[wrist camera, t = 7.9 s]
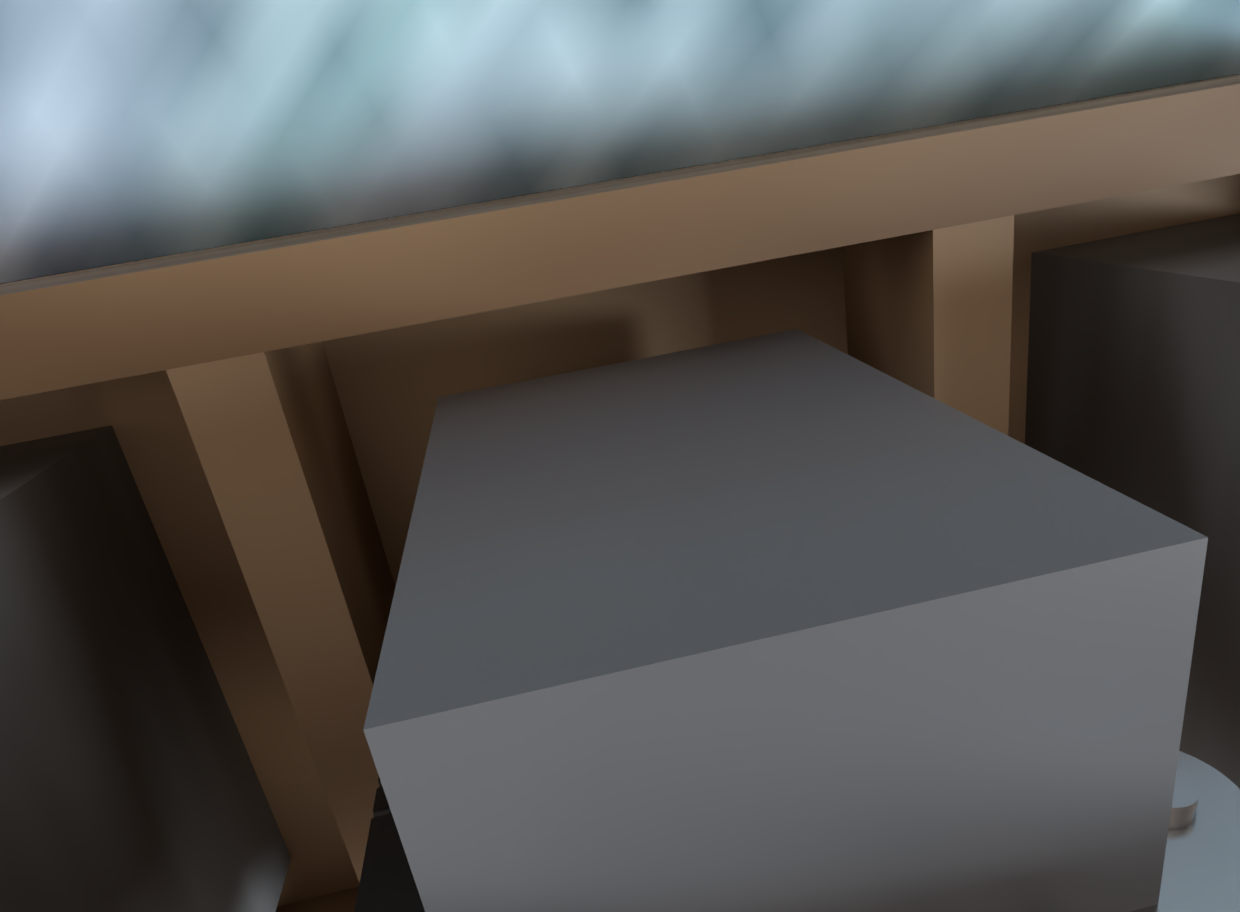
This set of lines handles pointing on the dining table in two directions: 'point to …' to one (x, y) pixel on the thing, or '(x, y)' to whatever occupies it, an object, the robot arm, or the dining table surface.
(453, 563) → the block
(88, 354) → the rack
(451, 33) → the dining table surface
